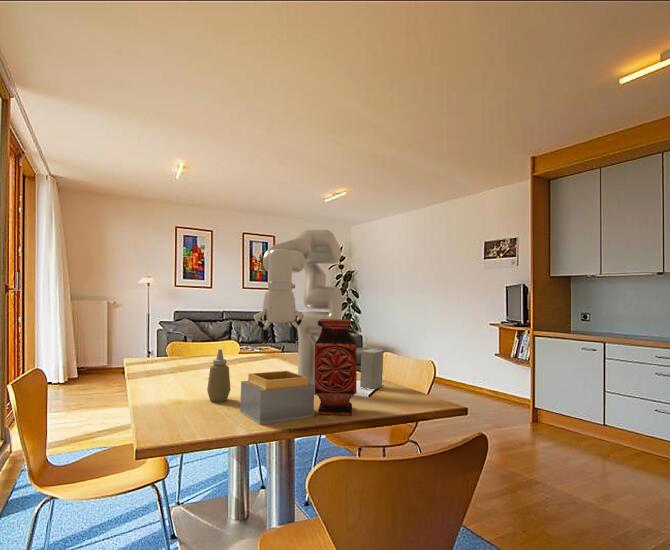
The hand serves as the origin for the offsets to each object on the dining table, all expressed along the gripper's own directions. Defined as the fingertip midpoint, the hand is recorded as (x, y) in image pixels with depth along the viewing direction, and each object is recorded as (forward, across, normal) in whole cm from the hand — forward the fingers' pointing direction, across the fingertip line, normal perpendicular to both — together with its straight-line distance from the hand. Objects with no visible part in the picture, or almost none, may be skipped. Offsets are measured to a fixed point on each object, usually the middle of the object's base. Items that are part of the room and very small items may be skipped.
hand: (279, 340), depth 145 cm
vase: (+24, -18, +6) cm, 30 cm away
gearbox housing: (+23, +1, +1) cm, 23 cm away
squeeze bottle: (+24, +11, -26) cm, 37 cm away
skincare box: (+25, -52, -19) cm, 61 cm away
